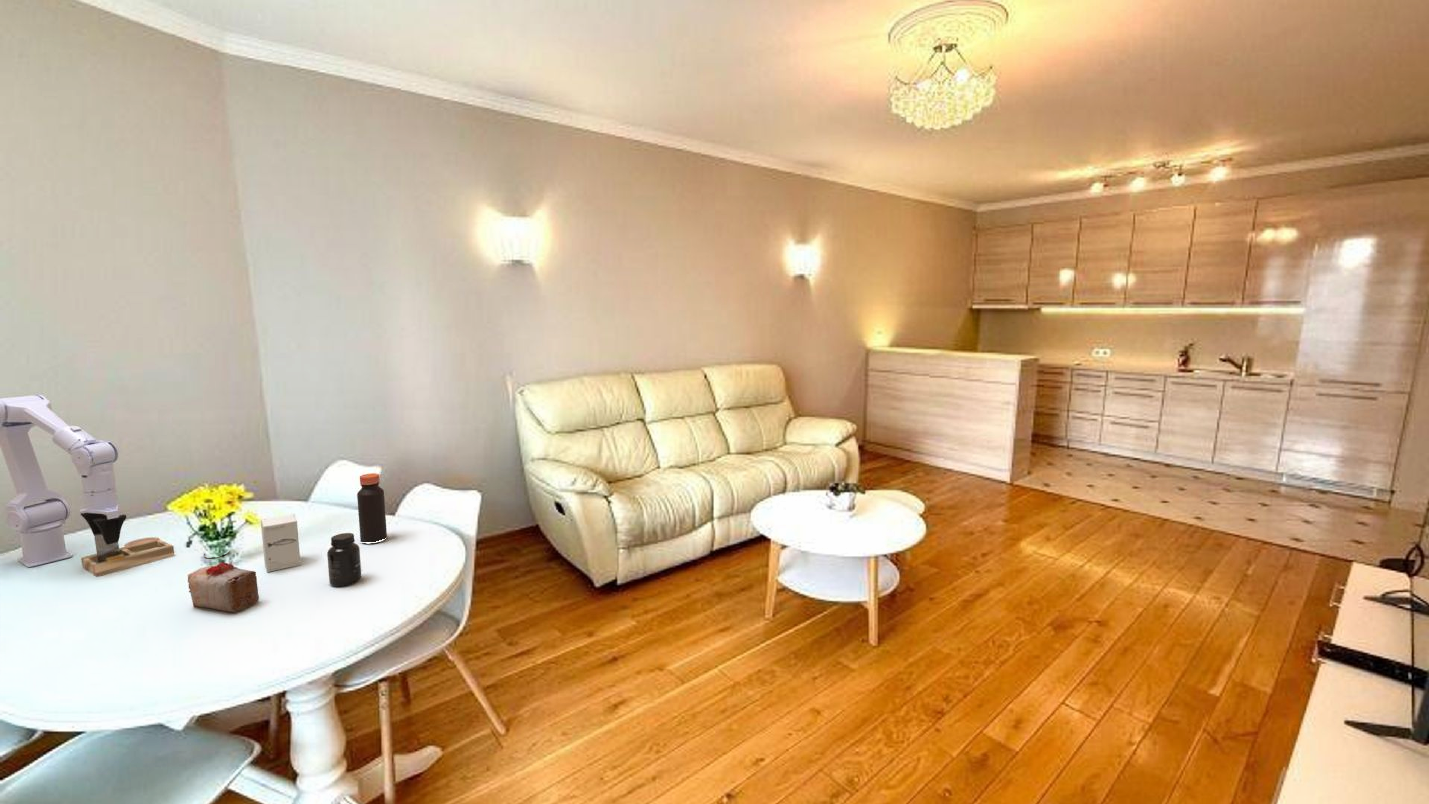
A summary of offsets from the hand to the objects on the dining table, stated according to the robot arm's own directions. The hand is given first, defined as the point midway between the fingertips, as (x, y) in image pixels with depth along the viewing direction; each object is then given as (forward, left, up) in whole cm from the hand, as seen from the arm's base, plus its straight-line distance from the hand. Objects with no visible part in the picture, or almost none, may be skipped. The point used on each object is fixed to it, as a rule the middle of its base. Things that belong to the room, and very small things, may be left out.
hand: (106, 539), depth 147 cm
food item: (+48, +6, -8) cm, 49 cm away
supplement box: (+36, +23, -8) cm, 43 cm away
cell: (0, 0, -6) cm, 6 cm away
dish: (-8, +9, -7) cm, 14 cm away
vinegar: (+40, +45, -8) cm, 61 cm away
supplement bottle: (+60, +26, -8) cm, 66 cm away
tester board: (0, +4, -7) cm, 8 cm away
